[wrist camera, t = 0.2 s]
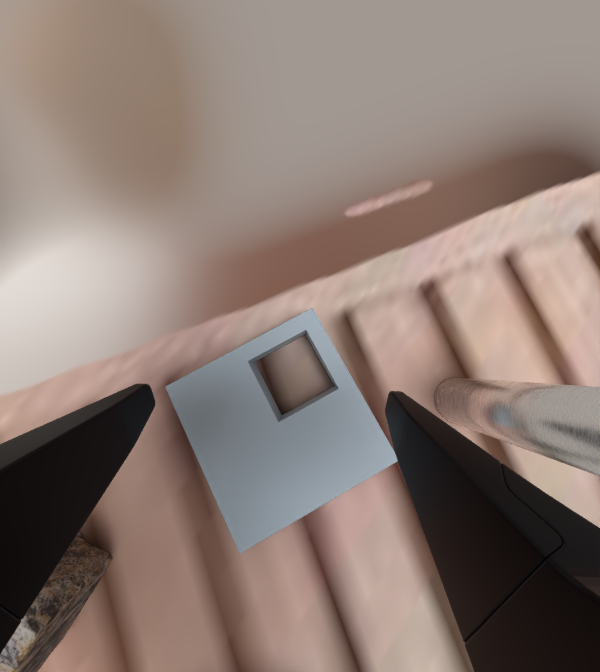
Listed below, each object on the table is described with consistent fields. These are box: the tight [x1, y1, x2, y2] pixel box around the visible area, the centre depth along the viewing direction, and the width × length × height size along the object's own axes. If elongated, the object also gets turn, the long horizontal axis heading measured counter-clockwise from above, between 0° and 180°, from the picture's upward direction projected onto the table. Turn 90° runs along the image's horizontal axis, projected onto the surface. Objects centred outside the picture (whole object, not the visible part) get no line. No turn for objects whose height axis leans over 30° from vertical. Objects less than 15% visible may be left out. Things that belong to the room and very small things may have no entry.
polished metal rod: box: [435, 378, 600, 476], centre depth 16 cm, size 4×4×13 cm
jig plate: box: [165, 308, 398, 553], centre depth 21 cm, size 15×15×3 cm
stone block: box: [0, 532, 112, 672], centre depth 18 cm, size 14×9×8 cm, turn 52°
